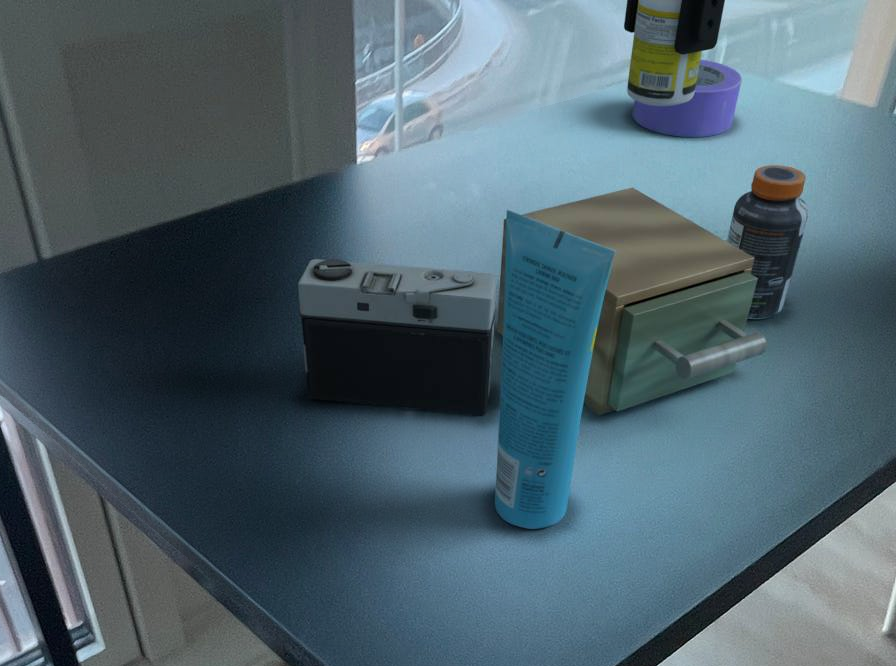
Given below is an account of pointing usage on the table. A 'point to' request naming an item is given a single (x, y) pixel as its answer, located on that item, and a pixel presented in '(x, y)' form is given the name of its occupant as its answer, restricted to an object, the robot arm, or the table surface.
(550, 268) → the tube
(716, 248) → the cabinet
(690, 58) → the supplement bottle
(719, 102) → the tape roll
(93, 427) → the table surface
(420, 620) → the table surface
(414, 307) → the camera
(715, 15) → the robot arm
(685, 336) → the drawer
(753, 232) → the pill bottle
